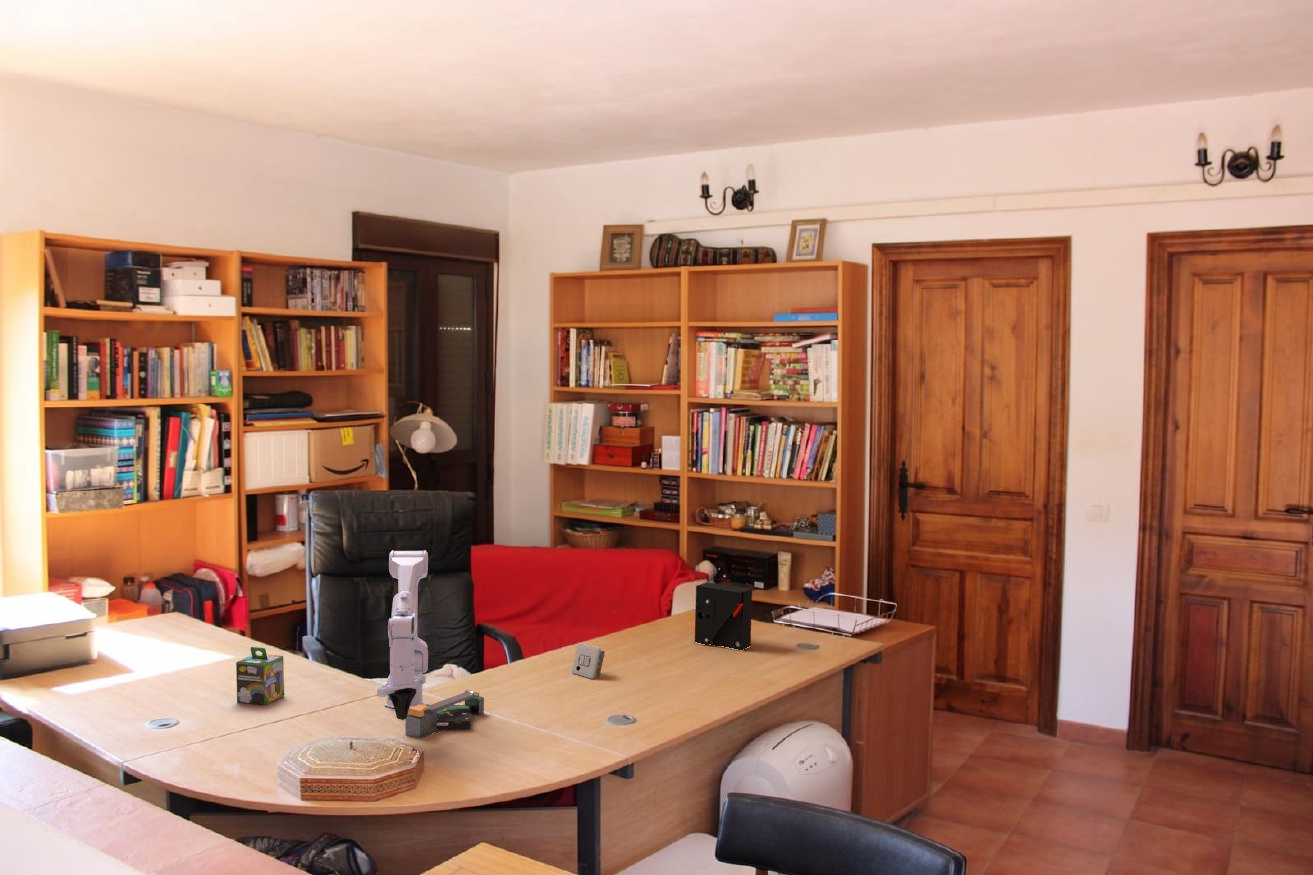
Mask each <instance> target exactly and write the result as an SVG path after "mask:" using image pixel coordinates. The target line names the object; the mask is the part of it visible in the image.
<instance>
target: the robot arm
mask: <svg viewBox="0 0 1313 875" xmlns="http://www.w3.org/2000/svg"><path fill="white" fill-rule="evenodd" d="M388 557H389V558H388V559H389V560H388V570H389V574H390V576H391V577H392V578H393V579H396V580H398V581H397V583H398V585H397V586H398V587H397V589H398V592H397V593H396V594H395V595H394V596H393V599H392V605H391V606H392V608H391V618H390V617H389V619H388V625H387V635H388V636H387V637H388V641H389V642H388V644H389V645H388V646H389V671H390V673H389V675H388V677H387V679H386V680H387V681H386V683H385V684H382V686H379V687H377V689H376V691H377V692H376V693H377V694H376V696H377V697H380V698H386V699H385V700H386V703H384V704H383V705H384V706H385V707H388V708H392V709H394V712H395V716H396V719H398V720H402V721H404V720H406V718H407V715H408V711H409V707H412V706H413V707H414V706H417V705H420V704H421V705H425V706H429V705H430V702H429V701H424V700H423V696H424V695H423V690H424V689H423V686H424V684H426V683H427V682H426V681H427V679H426V678H427V676H426V675H424V673H426V672H427V671H428V666H429V651H428V644H427V643H426V641H424V640H423V639H421V638H420V637H419V636H418V603H419V602H418V600H419V599H418V598H419V597H418V596H419V594H418V593H419V591H418V590H419V588H418V587H419V582H420V581H421V579H424V578H427V575H428V572H429V571H428V570H429V566H428V565H429V554H428V552H427V550H425V549H423V550H391V551H390V552H389V555H388Z"/></svg>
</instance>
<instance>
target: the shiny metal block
mask: <svg viewBox="0 0 1313 875" xmlns="http://www.w3.org/2000/svg"><path fill="white" fill-rule="evenodd" d="M464 705H467V706H471V715H476V716H480V715H484V714H485V697H484V696H480V695H479V697H478V698H476V697H473V698H470V699H468V700H465V701H464ZM404 727H405V736H409V737H412V738H416V737H418V738H417V739H419V738H421V739H423V738H425V736H426V737H428V736H430V734H431V735H433V734H435V733H434V732H436V733H438V730H437V713H436V712H433V713H430V712H426V711H424V716H421V717H417V716H413V715H409V714H407V718H406V719H405V726H404ZM432 733H433V734H432ZM427 735H428V736H427ZM422 737H423V738H422Z"/></svg>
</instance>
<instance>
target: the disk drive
mask: <svg viewBox="0 0 1313 875" xmlns="http://www.w3.org/2000/svg"><path fill="white" fill-rule="evenodd" d="M435 712H436V713H437V731H468V730H469V731H470V730H472V714H471V706H467V705H465V704H454V705H452V706H449V707H446V708H444V709H441V710H438V711H435Z"/></svg>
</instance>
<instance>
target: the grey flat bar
mask: <svg viewBox="0 0 1313 875" xmlns="http://www.w3.org/2000/svg"><path fill="white" fill-rule="evenodd" d="M479 696H480V692H478V691H473V690H470V689H469V690H468V689H465V691H464V692H463V693H460V694H457V695H454V696H451V697H447V698H446V699H443V700H440V701H437V702H435V703H432V704H429V705H428V706H429V709H427V710H424V711H426V712H430V713H433V712H435V711H438V710H441V709H444V708H446V707H449V706H452V705H458V704H460V703H462V702H465V700H468V699H470V698H473V697H476V698H478V697H479Z"/></svg>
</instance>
